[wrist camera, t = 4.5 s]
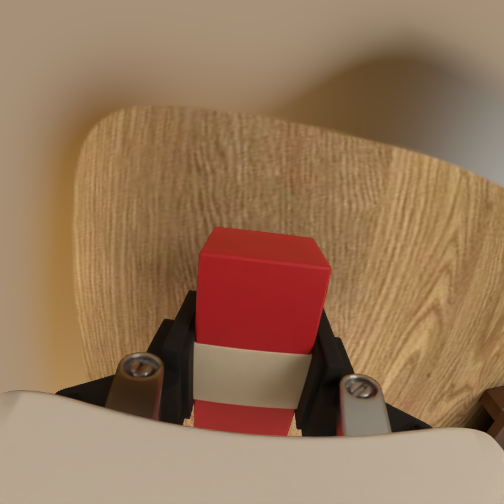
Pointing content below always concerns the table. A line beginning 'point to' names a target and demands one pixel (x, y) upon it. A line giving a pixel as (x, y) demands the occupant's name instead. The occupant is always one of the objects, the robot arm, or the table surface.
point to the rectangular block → (255, 328)
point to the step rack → (495, 412)
